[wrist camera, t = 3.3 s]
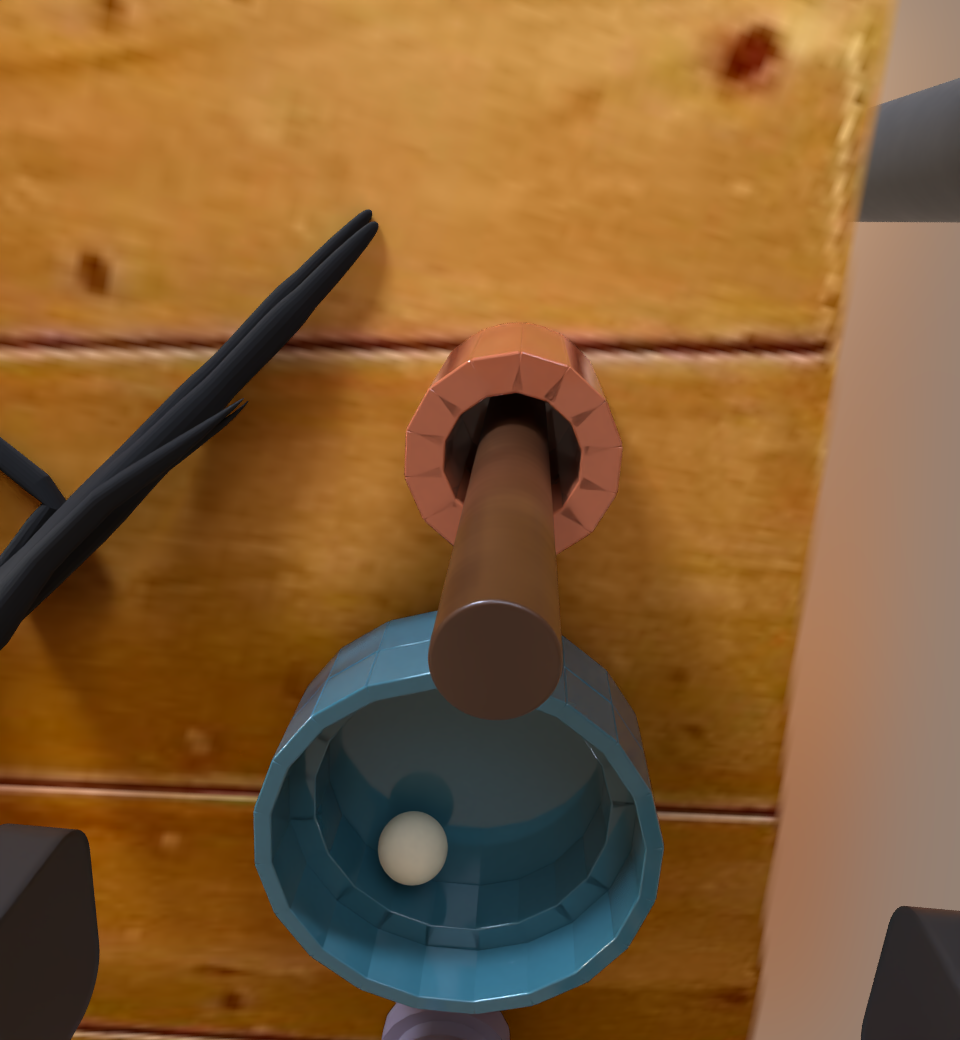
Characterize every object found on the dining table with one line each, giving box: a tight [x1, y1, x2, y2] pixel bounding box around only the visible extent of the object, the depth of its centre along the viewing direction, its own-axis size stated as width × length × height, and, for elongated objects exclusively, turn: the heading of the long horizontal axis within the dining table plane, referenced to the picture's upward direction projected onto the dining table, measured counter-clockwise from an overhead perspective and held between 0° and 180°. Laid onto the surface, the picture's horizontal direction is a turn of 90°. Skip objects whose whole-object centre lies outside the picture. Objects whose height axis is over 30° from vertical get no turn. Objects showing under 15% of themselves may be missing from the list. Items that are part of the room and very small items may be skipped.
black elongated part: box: [0, 210, 378, 650], centre depth 32 cm, size 8×9×25 cm
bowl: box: [253, 611, 664, 1014], centre depth 36 cm, size 15×15×6 cm
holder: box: [404, 323, 623, 555], centre depth 30 cm, size 6×6×8 cm
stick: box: [428, 393, 563, 720], centre depth 24 cm, size 2×2×20 cm
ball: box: [378, 811, 448, 885], centre depth 38 cm, size 3×3×3 cm
